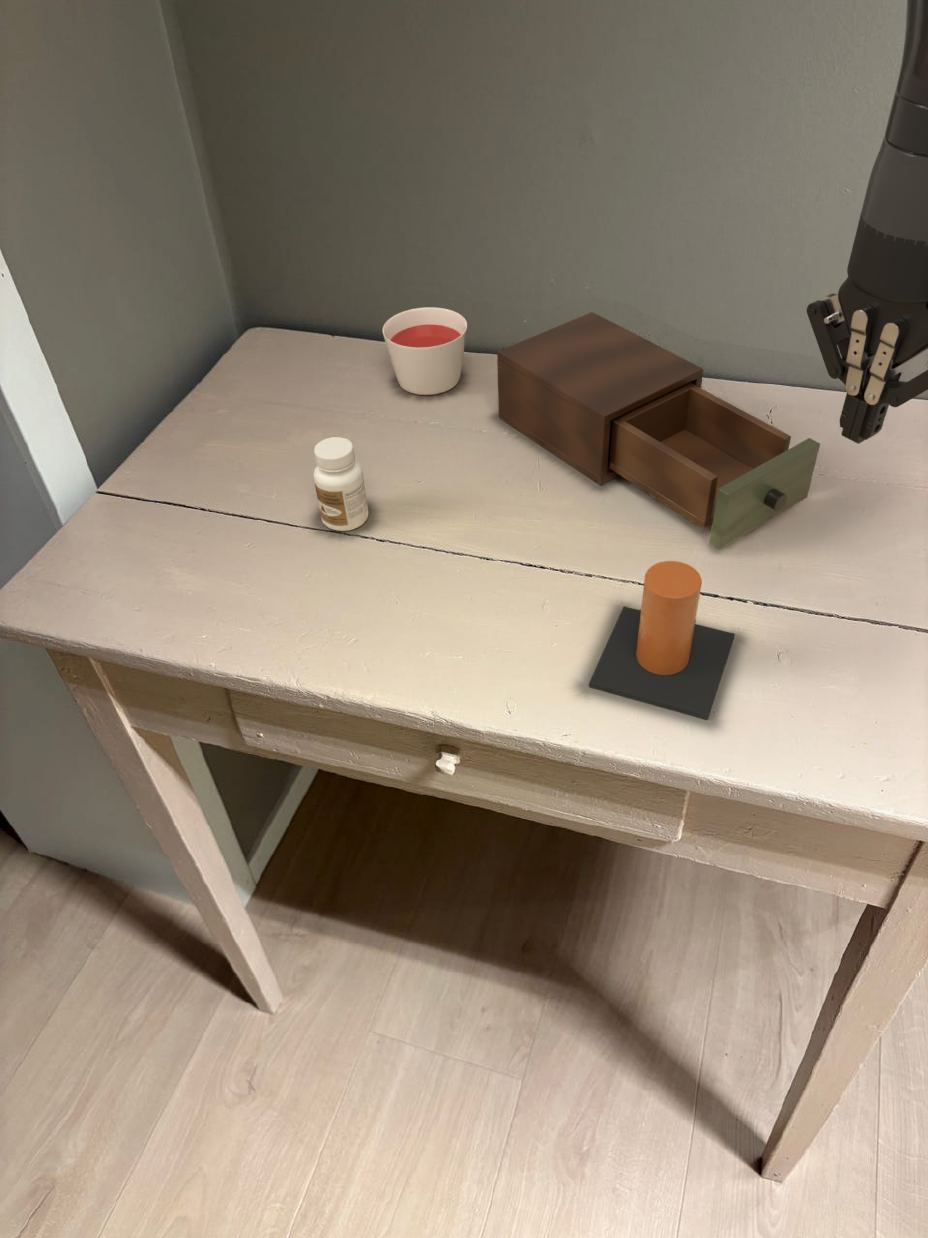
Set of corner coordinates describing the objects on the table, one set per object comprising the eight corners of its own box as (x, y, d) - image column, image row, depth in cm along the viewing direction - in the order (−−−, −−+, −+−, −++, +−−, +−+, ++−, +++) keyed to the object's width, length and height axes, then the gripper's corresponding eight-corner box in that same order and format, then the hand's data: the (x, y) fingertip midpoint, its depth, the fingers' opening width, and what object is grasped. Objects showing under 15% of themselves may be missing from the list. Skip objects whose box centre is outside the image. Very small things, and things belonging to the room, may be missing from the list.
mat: (734, 637, 75) (734, 633, 75) (707, 720, 70) (708, 715, 69) (623, 610, 78) (623, 605, 78) (589, 687, 72) (589, 682, 72)
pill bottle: (312, 519, 89) (298, 449, 84) (347, 497, 91) (335, 427, 86) (343, 538, 87) (331, 468, 81) (378, 515, 89) (369, 445, 84)
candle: (373, 392, 105) (367, 339, 100) (412, 353, 110) (407, 301, 106) (447, 408, 102) (444, 354, 97) (483, 367, 107) (481, 314, 103)
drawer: (817, 503, 86) (832, 449, 82) (730, 557, 81) (740, 502, 77) (688, 430, 95) (695, 377, 91) (603, 473, 90) (606, 421, 86)
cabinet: (694, 436, 96) (703, 368, 90) (600, 485, 91) (604, 416, 85) (589, 376, 105) (592, 311, 100) (498, 417, 100) (496, 351, 95)
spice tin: (694, 645, 74) (707, 567, 69) (681, 681, 72) (694, 603, 66) (644, 632, 76) (653, 555, 70) (629, 667, 73) (637, 590, 68)
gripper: (803, 199, 65) (758, 418, 77) (981, 261, 58) (901, 494, 70) (871, 171, 68) (818, 386, 81) (1049, 227, 61) (961, 455, 73)
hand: (857, 436), depth 75 cm, fingers closed
